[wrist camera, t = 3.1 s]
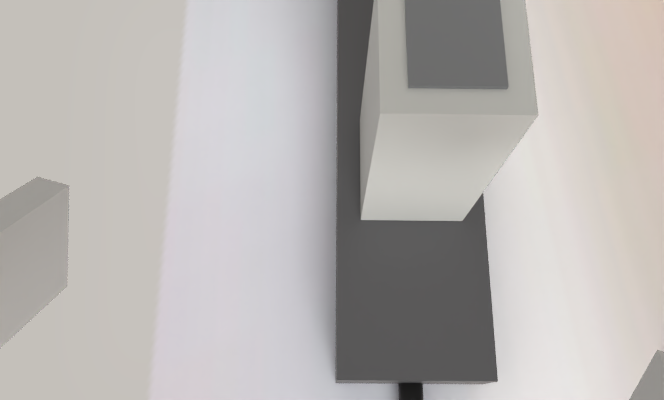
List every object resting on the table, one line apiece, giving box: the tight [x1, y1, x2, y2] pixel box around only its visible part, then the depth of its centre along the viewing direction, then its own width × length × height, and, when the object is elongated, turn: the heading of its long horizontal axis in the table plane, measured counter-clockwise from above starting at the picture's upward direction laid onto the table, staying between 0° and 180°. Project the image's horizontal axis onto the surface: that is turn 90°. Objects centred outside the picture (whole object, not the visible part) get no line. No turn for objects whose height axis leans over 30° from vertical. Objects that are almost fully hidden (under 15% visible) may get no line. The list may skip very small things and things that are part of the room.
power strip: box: [336, 0, 498, 400], centre depth 28 cm, size 32×6×3 cm, turn 0°
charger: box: [360, 0, 538, 221], centre depth 23 cm, size 5×4×12 cm
